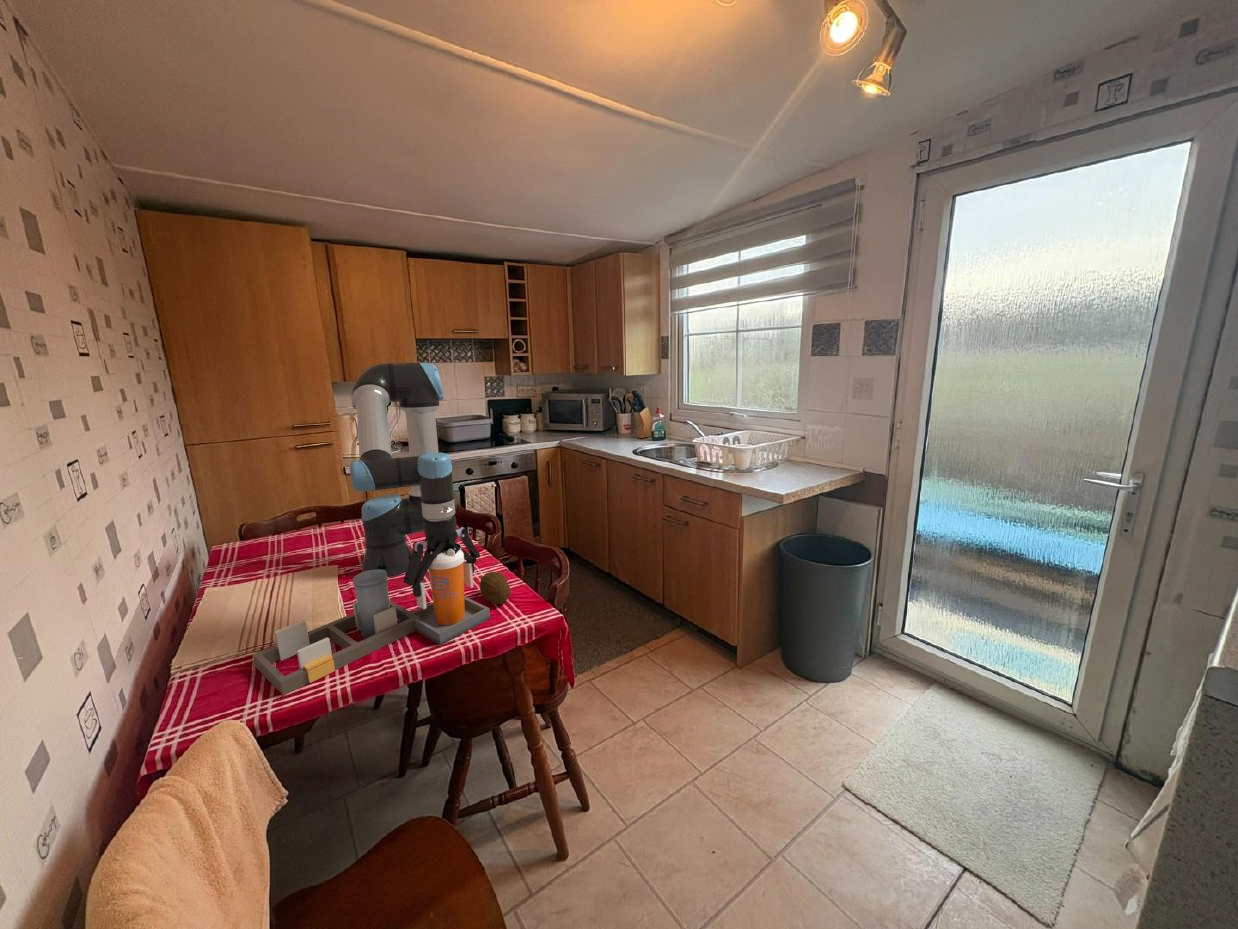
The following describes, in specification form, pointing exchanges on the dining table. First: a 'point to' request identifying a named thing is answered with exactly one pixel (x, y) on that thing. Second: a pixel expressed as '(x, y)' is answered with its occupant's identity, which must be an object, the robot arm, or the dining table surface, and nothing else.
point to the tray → (445, 633)
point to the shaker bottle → (448, 585)
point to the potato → (495, 587)
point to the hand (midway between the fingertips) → (446, 596)
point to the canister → (370, 598)
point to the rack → (328, 646)
